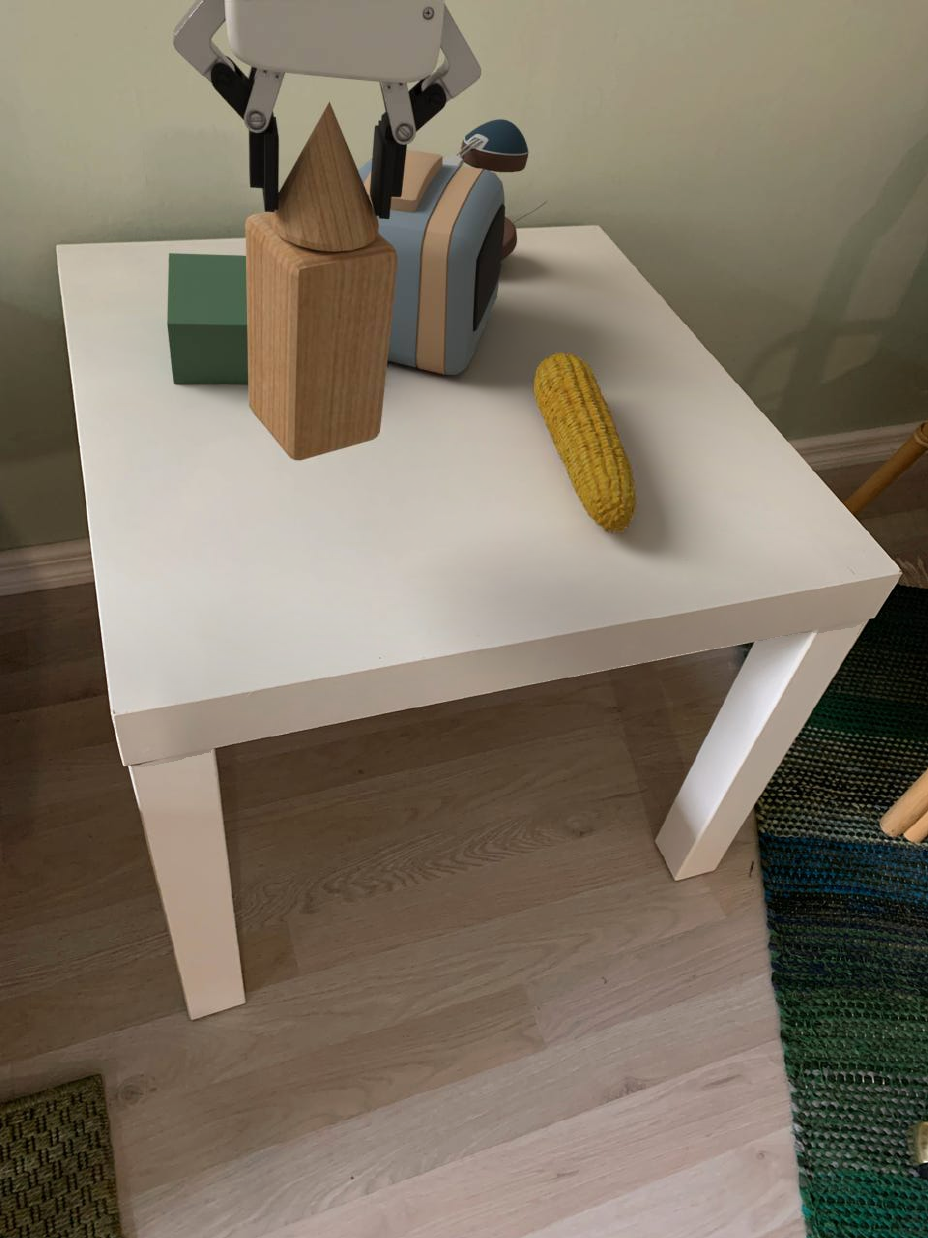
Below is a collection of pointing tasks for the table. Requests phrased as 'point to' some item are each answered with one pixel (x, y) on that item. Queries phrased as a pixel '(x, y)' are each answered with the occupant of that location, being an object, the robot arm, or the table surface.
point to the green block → (208, 318)
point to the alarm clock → (442, 260)
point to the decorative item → (319, 304)
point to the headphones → (495, 160)
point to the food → (586, 439)
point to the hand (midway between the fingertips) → (325, 200)
